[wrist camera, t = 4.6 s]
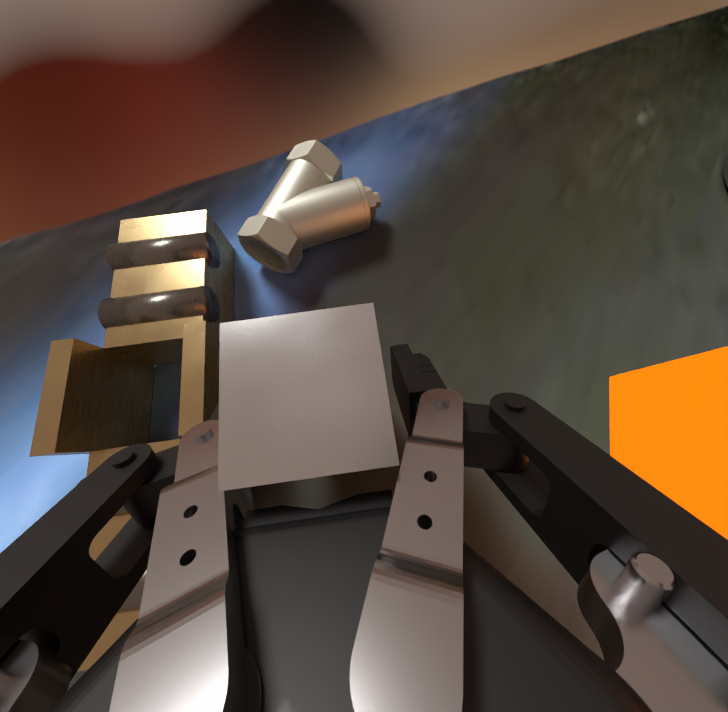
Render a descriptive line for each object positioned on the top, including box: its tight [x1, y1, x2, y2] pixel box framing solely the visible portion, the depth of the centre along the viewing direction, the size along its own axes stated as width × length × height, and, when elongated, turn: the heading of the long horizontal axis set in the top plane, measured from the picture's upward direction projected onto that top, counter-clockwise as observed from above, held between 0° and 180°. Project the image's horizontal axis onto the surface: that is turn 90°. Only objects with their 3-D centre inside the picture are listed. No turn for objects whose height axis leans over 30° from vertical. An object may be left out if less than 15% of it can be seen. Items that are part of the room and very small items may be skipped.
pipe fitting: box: [237, 140, 381, 274], centre depth 19 cm, size 8×4×7 cm
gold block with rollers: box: [29, 210, 234, 671], centre depth 15 cm, size 7×21×5 cm, turn 8°
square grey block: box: [218, 303, 399, 492], centre depth 11 cm, size 4×4×11 cm
